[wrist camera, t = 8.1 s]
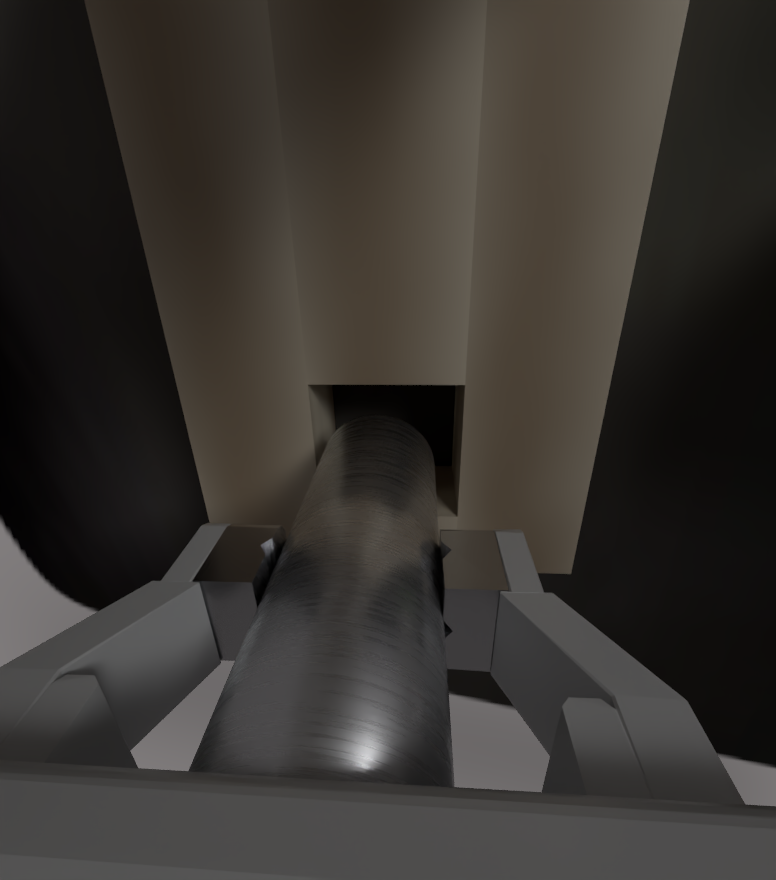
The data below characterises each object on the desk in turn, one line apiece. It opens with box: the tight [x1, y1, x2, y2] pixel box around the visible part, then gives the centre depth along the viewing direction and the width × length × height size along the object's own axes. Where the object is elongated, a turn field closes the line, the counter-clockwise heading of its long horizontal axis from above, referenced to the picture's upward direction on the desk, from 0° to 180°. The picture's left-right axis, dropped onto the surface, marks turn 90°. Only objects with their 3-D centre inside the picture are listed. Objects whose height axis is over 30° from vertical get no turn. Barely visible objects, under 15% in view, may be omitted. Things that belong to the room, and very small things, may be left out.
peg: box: [189, 415, 454, 787], centre depth 7 cm, size 3×3×10 cm
